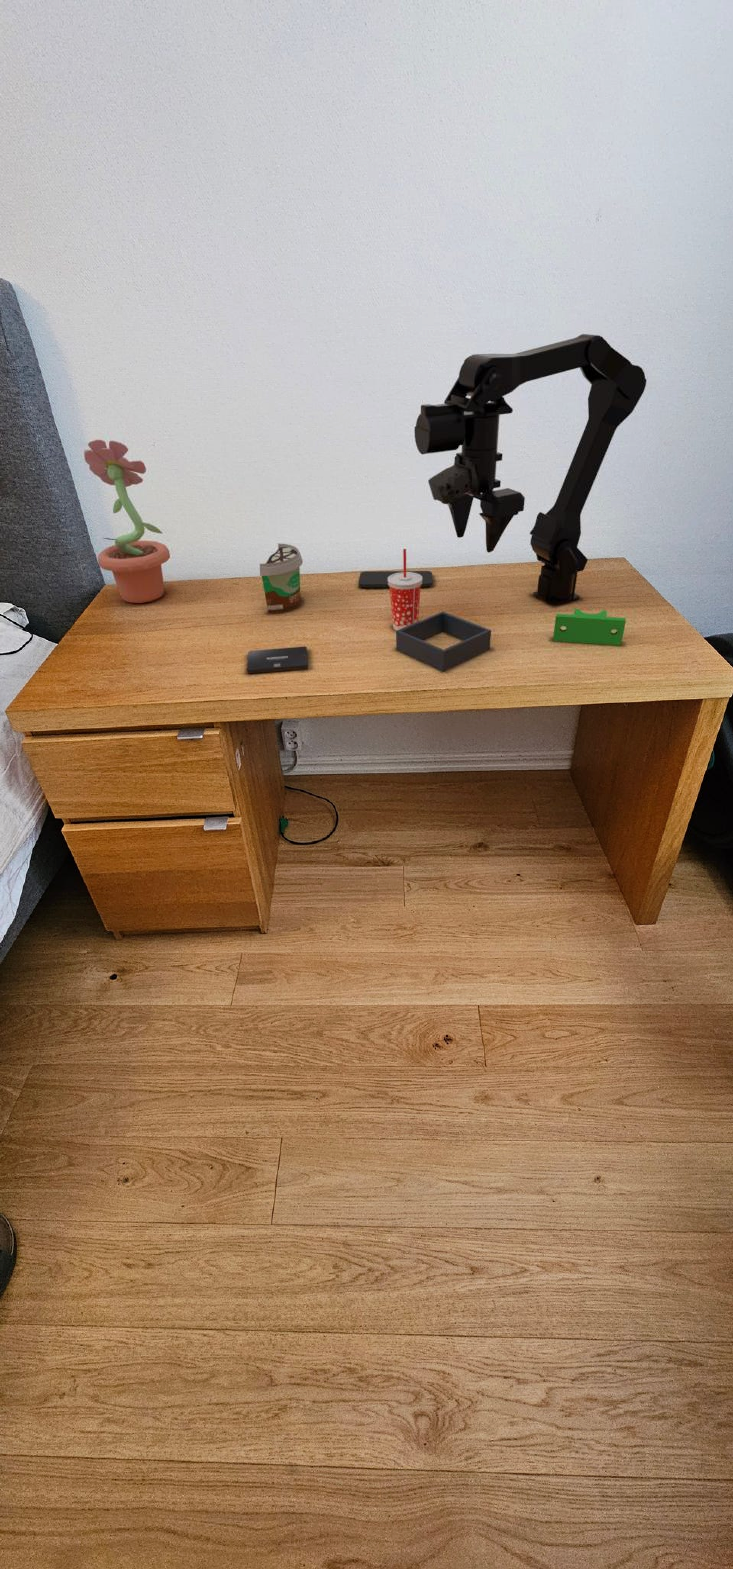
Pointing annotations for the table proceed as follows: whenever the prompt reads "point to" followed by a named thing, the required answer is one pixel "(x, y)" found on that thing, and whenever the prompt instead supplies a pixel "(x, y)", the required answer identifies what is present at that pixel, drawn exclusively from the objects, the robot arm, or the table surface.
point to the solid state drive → (277, 659)
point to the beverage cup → (404, 597)
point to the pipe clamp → (589, 628)
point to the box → (414, 646)
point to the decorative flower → (130, 557)
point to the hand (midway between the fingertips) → (474, 544)
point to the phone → (381, 578)
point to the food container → (282, 579)
